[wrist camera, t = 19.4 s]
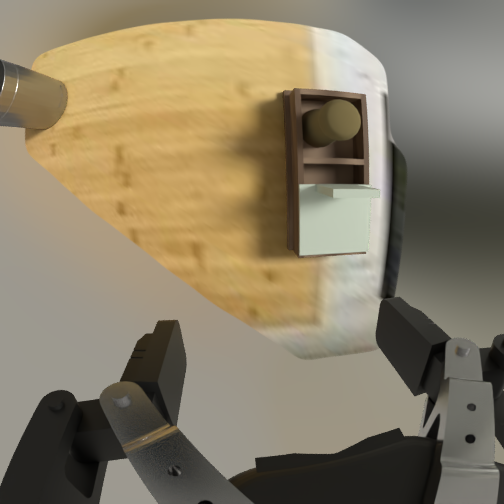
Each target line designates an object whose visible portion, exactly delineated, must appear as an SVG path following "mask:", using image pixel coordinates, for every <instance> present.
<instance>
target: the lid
mask: <svg viewBox="0 0 504 504" xmlns="http://www.w3.org/2000/svg"><path fill="white" fill-rule="evenodd" d="M371 198H380V189H375V188H371V185H365V184H299V255H300V256H301V255H318V254H335V253H351V252H367V251H368V250H369V235H370V216H371Z"/></svg>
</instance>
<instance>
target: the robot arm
mask: <svg viewBox="0 0 504 504" xmlns="http://www.w3.org/2000/svg"><path fill="white" fill-rule="evenodd" d="M66 104H67V89H66V87H65V85H64V84H63V83H62V82H61V81H59V80H56V79H54V78H51V77H49V76H46V75H44V74H41V73H38V72H36V71H33V70H30V69H27V68H25V67H22V66H19V65H16V64H13V63H10V62H7V61H4V60H1V59H0V126H11V127H23V128H32V129H47V128H49V127H51V126H53V125H54V124H55V123H56V122H57V121H58V120H59V119H60V117H61V116H62V114H63V112H64V110H65V107H66ZM376 341H377V344H378V346H379V348H380V349H381V350H382V352H383V353H384V355H385V356H386V357H387V359H388V360H389V361H390V363H391V364H392V365H393V367H394V368H395V370H396V371H397V372H398V374H399V375H400V377H401V378H402V379H403V381H404V382H405V384H406V385H407V386H408V388H409V389H410V391H411V392H412V393H413V395H414V396H417V395H420V394H423V393H427V394H428V395H427V398H426V400H425V404H424V410H423V416H422V420H421V425H420V430H419V434H418V436H403V434H402V432H401V430H400V428H397V429H394V430H391V431H388V432H385V433H381V434H378V435H375V436H372V437H368V438H367V439H364V440H362V441H360V442H359V443H357V444H355V445H353V446H351V447H349V448H347V449H345V450H342V451H340V452H338V453H335V454H296V453H293V454H286V455H278V456H270V457H260V458H255V461H256V468H253V469H250V470H247V471H244V472H242V473H239V474H237V475H236V476H233V477H232V478H230V479H228V480H227V479H226V478H225V477H224V476H223V475H222V474H221V473H220V472H219V471H218V470H217V469H216V468H215V467H214V466H213V465H212V464H211V463H210V462H209V461H208V460H207V459H206V458H205V457H204V456H203V455H202V454H201V453H200V452H199V451H198V450H197V449H196V448H195V447H194V445H193V444H192V443H191V442H190V441H189V440H188V439H187V438H186V436H185V435H184V434H183V433H182V432H181V431H180V430H179V429H178V428H177V420H178V414H179V407H180V402H181V396H182V389H183V384H184V378H185V373H186V353H185V349H184V344H183V339H182V334H181V329H180V325H179V322H178V320H163V321H158V322H157V324H156V327H155V329H154V332H153V333H152V334H145V335H144V336H143V337H142V338H141V339H139V340H138V341H137V344H136V346H135V348H134V351H133V353H132V355H131V359H129V361H128V363H127V366H126V368H125V371H124V373H123V375H122V377H121V379H120V382H117V383H114V384H112V385H110V386H108V387H107V388H105V389H104V390H103V392H102V393H101V395H100V398H99V399H96V400H89V401H82V402H77V400H76V399H75V397H74V395H73V394H72V393H70V392H68V391H65V390H57V391H54V392H51V393H49V394H47V395H46V396H44V397H43V398H42V400H41V401H40V403H39V405H38V407H37V408H36V410H35V412H34V414H33V416H32V418H31V420H30V422H29V424H28V426H27V428H26V430H25V432H24V434H23V436H22V438H21V440H20V442H19V444H18V446H17V448H16V450H15V452H14V455H13V457H12V459H11V461H10V464H9V466H8V468H7V471H6V473H5V476H4V478H3V481H2V483H1V486H0V504H99V502H100V496H101V491H102V486H103V481H104V477H105V472H106V468H107V463H108V461H110V460H118V459H124V458H128V459H129V461H130V462H131V464H132V465H133V467H134V469H135V470H136V472H137V474H138V475H139V477H140V478H141V480H142V481H143V483H144V484H145V486H146V487H147V489H148V490H149V491H150V493H151V494H152V496H153V497H154V498H155V500H156V501H157V502H158V504H504V464H501V463H497V462H495V461H494V453H495V436H496V438H497V439H498V441H499V442H500V444H501V445H502V447H503V448H504V391H503V389H504V334H502V335H501V334H500V335H497V336H496V337H495V338H494V340H493V343H492V346H491V347H490V348H480V349H479V348H478V346H477V345H476V344H475V343H474V342H472V341H471V340H468V339H465V338H453V339H451V338H450V337H449V336H448V335H447V334H446V333H445V332H444V331H443V330H442V329H441V328H439V327H438V326H437V325H436V324H434V322H433V321H432V320H431V319H428V317H427V316H426V315H425V314H424V313H422V311H420V310H418V309H416V308H413V307H411V306H410V305H408V304H407V303H406V302H405V301H404V300H403V299H402V298H400V297H395V298H389V299H383V300H382V301H381V303H380V308H379V315H378V322H377V328H376Z"/></svg>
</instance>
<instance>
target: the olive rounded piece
mask: <svg viewBox="0 0 504 504" xmlns="http://www.w3.org/2000/svg"><path fill="white" fill-rule="evenodd" d="M360 125H361V119H360V114H359V112H358V110H357V109H356V108H355V107H354V105H353V104H351V103H349V102H348V101H345V100H341V99H337V100H331V101H329V102H327V103H326V104H325V105H324V106H322V108H319V109H313V110H310V111H308V112H306V113H305V114H304V115H303V116H302V132H303V140H304V141H305V142H306V143H307V144H309V145H311V146H313V147H318V148H320V147H326V146H328V145H330V144H331V143H333V142H334V141H336V140H338V141H344V140H348V139H351V138H353V137H354V136H355V135H356V134H357V133H358V131H359V129H360Z"/></svg>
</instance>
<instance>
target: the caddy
mask: <svg viewBox="0 0 504 504" xmlns="http://www.w3.org/2000/svg"><path fill="white" fill-rule="evenodd" d="M337 99H341V100H345V101H348V102H349V103H351V104H353V105H354V107H355V108H356V109H357V110H358V112H359V114H360V119H361V125H360V129H359V131H358V133H357V134H356V135H355V136H354V137H353V138H351V139H348V140H344V141H338V140H336V141H334V142H333V143H331V144H330V145H328V146H326V147H320V148H318V147H313V146H311V145H309V144H307V143H306V142H305V141H304V140H303V132H302V116H303V115H304V114H305V113H306V112H308V111H310V110H313V109H319V108H322V106H324V105H325V104H326V103H327V102H329V101H331V100H337ZM283 102H284V122H285V147H286V179H287V242H288V250H294V252H295V253H296V255H297V256H298V258H304V257H320V256H336V255H352V254H366V252H351V253H335V254H318V255H301V256H300V255H299V184H365V185H369V142H368V120H367V104H366V95H365V94H358V93H349V92H340V91H329V90H316V89H298V88H294V89H293V91H287V90H284V91H283Z"/></svg>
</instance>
